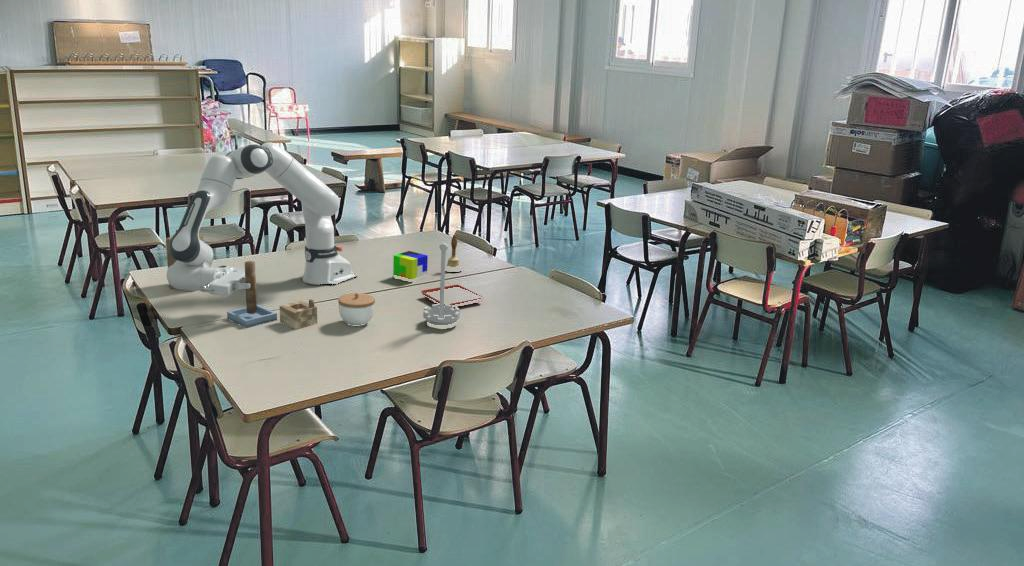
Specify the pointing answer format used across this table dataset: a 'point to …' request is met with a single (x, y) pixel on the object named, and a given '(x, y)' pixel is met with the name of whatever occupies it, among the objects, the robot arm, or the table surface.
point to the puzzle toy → (410, 264)
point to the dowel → (251, 292)
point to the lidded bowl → (356, 308)
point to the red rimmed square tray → (446, 288)
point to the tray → (251, 316)
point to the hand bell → (453, 253)
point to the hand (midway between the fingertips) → (253, 283)
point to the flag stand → (442, 300)
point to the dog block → (298, 314)
